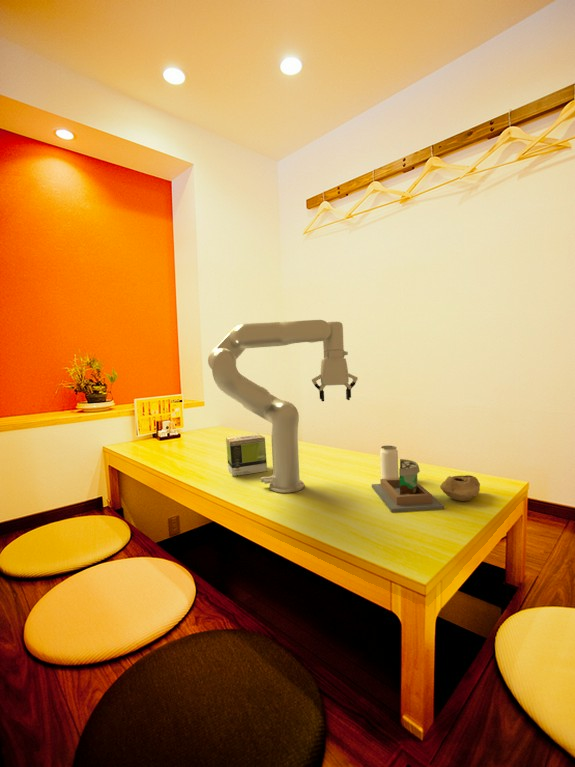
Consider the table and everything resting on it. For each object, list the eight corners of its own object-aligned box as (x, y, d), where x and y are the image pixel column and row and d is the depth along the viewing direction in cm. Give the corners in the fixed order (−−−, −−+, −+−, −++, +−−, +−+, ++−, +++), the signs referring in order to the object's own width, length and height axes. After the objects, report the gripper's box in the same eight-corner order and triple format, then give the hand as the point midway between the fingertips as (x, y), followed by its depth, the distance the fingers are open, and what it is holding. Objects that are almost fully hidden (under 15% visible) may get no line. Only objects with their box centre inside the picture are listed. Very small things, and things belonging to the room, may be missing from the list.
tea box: (261, 465, 166) (259, 433, 165) (267, 472, 156) (265, 437, 155) (227, 470, 161) (225, 436, 160) (231, 477, 152) (229, 441, 151)
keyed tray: (391, 512, 111) (391, 500, 110) (371, 487, 133) (371, 477, 132) (444, 508, 111) (444, 497, 111) (416, 484, 133) (415, 474, 133)
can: (399, 481, 137) (398, 449, 136) (381, 481, 138) (380, 449, 138) (397, 476, 143) (396, 445, 143) (380, 475, 145) (379, 445, 144)
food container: (420, 502, 115) (420, 470, 114) (400, 500, 117) (399, 469, 116) (419, 488, 126) (419, 459, 126) (400, 487, 128) (400, 458, 128)
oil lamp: (488, 494, 121) (487, 470, 121) (470, 508, 111) (469, 482, 110) (453, 487, 129) (453, 464, 129) (434, 499, 119) (433, 475, 118)
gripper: (354, 354, 144) (355, 398, 145) (309, 356, 144) (311, 400, 145) (358, 354, 137) (360, 400, 138) (311, 356, 136) (313, 402, 137)
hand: (335, 400), depth 141 cm, fingers open, 9 cm apart
